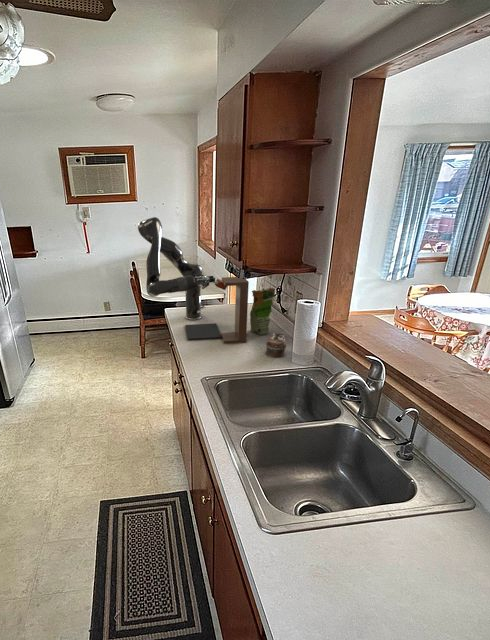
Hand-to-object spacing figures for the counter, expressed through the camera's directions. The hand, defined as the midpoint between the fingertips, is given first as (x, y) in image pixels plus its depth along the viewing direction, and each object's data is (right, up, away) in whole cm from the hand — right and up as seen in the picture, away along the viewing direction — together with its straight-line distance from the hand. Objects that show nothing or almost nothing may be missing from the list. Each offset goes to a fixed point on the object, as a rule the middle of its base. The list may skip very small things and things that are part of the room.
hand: (213, 278), depth 209 cm
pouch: (+27, -28, +8) cm, 40 cm away
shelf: (+10, -32, 0) cm, 34 cm away
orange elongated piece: (0, -3, +2) cm, 4 cm away
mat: (-5, -28, +10) cm, 30 cm away
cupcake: (+28, -41, -20) cm, 53 cm away
